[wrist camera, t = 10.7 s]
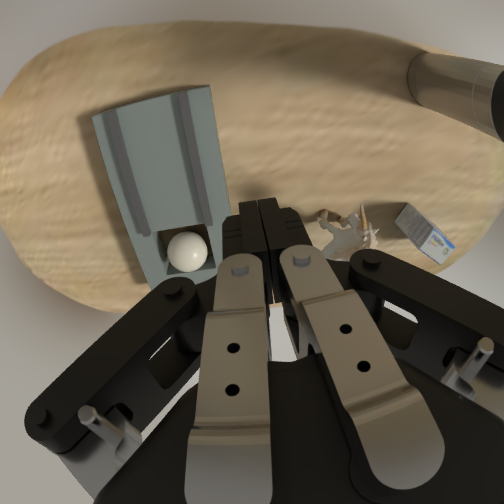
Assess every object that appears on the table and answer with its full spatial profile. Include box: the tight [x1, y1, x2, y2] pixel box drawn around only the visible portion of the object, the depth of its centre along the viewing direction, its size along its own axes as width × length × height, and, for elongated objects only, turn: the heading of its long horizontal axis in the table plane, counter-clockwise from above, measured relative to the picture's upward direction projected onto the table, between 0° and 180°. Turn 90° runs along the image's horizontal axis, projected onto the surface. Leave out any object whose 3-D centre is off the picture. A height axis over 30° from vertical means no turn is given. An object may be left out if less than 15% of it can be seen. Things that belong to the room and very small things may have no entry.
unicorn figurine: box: [319, 204, 379, 261], centre depth 42 cm, size 7×20×13 cm, turn 163°
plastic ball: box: [167, 231, 207, 272], centre depth 44 cm, size 6×6×6 cm
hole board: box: [92, 85, 232, 291], centre depth 40 cm, size 15×30×4 cm, turn 7°
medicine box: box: [394, 203, 455, 265], centre depth 45 cm, size 8×4×9 cm, turn 61°
